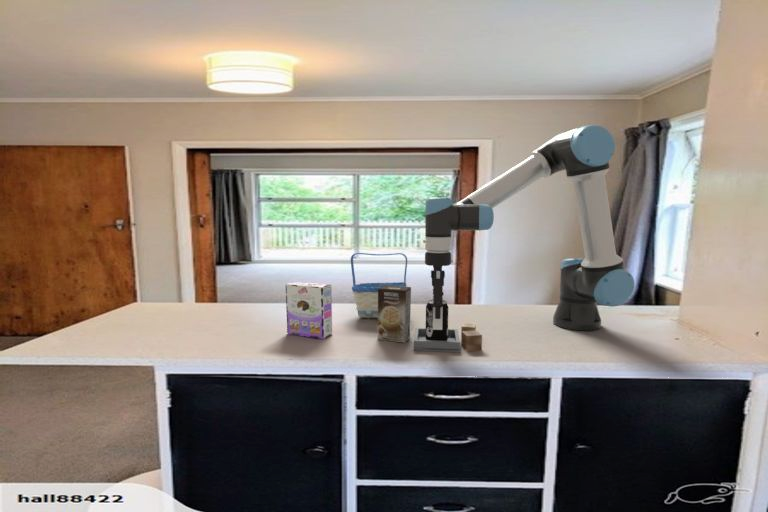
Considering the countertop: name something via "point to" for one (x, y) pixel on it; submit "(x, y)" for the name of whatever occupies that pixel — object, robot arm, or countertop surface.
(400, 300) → the coffee box
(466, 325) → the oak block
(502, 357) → the countertop surface
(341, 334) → the countertop surface
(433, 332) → the beverage can
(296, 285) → the candy box
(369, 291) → the basket
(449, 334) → the tray
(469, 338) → the walnut block
